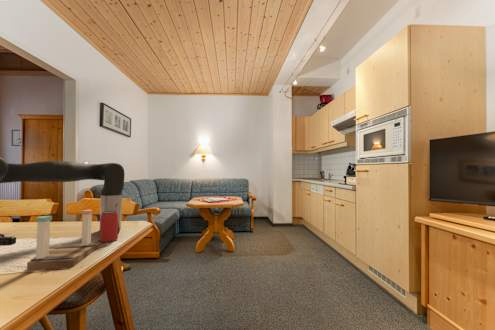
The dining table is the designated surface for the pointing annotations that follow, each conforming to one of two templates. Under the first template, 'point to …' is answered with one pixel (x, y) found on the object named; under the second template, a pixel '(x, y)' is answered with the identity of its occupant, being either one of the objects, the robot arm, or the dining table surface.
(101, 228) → the beer can
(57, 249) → the wooden slider base
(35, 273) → the dining table surface
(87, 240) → the white tall bar
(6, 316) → the dining table surface
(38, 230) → the teal slider
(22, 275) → the dining table surface
